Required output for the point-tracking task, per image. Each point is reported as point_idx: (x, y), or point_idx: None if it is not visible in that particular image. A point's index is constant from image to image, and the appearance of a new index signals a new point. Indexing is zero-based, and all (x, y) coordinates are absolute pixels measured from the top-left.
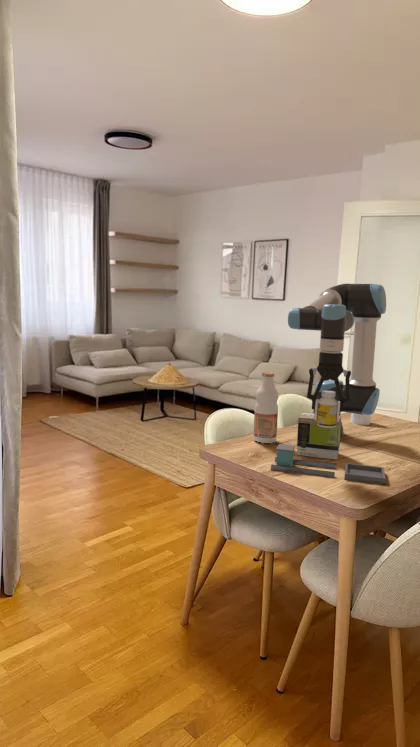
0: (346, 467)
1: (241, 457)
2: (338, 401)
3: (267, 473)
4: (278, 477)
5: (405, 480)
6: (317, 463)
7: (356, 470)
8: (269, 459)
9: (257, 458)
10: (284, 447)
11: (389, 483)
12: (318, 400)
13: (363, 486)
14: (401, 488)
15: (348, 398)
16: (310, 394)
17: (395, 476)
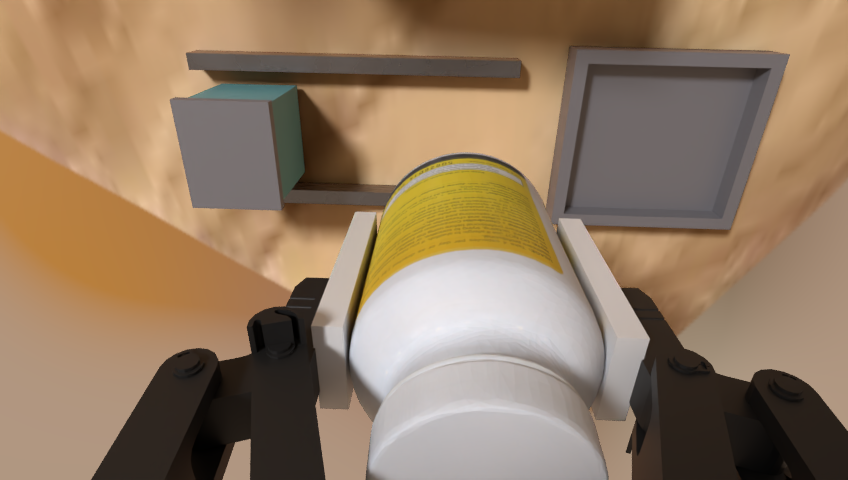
0: (571, 133)
1: (18, 59)
2: (618, 357)
3: (226, 242)
4: (280, 271)
5: (844, 130)
6: (422, 74)
7: (623, 92)
8: (161, 37)
9: (98, 44)
10: (224, 168)
11: (742, 196)
12: (351, 377)
13: (613, 263)
14: (773, 238)
15: (765, 478)
16: (220, 467)
17: (817, 86)
